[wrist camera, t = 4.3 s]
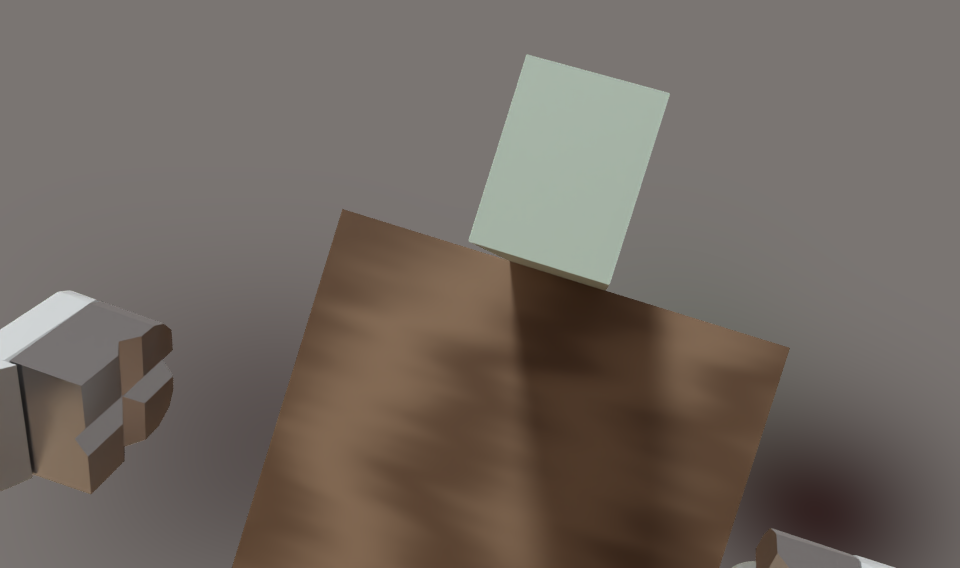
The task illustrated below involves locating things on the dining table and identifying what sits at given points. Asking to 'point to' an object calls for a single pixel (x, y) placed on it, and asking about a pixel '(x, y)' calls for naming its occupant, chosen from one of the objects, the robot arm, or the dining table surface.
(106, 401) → the robot arm
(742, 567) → the decorative bowl
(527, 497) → the wood grain block
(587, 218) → the sage block
